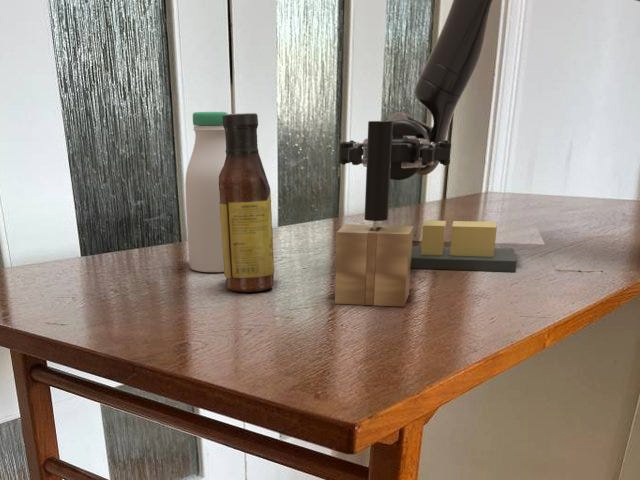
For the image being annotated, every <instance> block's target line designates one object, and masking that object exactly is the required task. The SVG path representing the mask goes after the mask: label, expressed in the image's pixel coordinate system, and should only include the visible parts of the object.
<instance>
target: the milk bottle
mask: <svg viewBox="0 0 640 480" xmlns="http://www.w3.org/2000/svg"><path fill="white" fill-rule="evenodd" d="M225 114H228V112H226V111H196V112H193V113H192V125H193V131H194V133H195V134H194V135H195V136H194V137H195V138H194V145H193V149H192V153H191V156H190V159H189V161H188V165H187V166H186V172H185V184H184V187H185V188H184V189H185V190H184V191H185V211H186V212H185V215H186V231H187V249H188V263H189V267H190V269H191V270H193V271H196V272H202V273H224V262H223V248H222V233H221V219H220V206H219V202H220V191H219V175H220V172H221V170H222V168H223V166H224V163H225V160H226V152H225V151H226V136H225V129H224V127H223V115H225Z"/></svg>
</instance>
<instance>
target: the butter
mask: <svg viewBox="0 0 640 480" xmlns="http://www.w3.org/2000/svg"><path fill="white" fill-rule="evenodd" d="M446 229H447V220H425V221H424V223H423V224H422V231H421V233H422V234H421V245H412V254H411V269H419V270H442V271H443V270H444V271H446V270H447V271H475V272H500V273H501V272H503V273H504V272H506V273H515V272H516V271H517V257H516V253H515V249H514V248H499V247H496V240H497V239H496V238H497V229H498V225H497V221H471V220H470V221H468V220H467V221H465V220H453V221H452V224H451V235H450V245H449V246H445V243H446V241H445V240H446Z"/></svg>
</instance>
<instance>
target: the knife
mask: <svg viewBox="0 0 640 480" xmlns="http://www.w3.org/2000/svg"><path fill="white" fill-rule="evenodd" d="M392 128H393V121H387V120H368V121H367V138H368V142H367V167H365V168H366V171H365V196H364V197H365V198H364V220H365V221H369V222H372V223H373V224H372V225H373V231H378V225H379V222H381V221H382V222H383V221H388V219H389V204H390V202H389V201H390V184H391V179H390V166H391V147H392Z"/></svg>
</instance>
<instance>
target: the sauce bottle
mask: <svg viewBox="0 0 640 480" xmlns="http://www.w3.org/2000/svg"><path fill="white" fill-rule="evenodd" d="M258 119H259V117H258V114H257V112H243V113H241V112H240V113H227V114H225V115H223V127H224V129H225V136H226V151H225V152H226V160H225V163H224V166H223V168H222V170H221V172H220V175H219V191H220V202H219V206H220V219H221V233H222V248H223V262H224V272H223V273H224V278H225V286H226V289H228V290H231V291H233V292H235V293H237V292H239V293H257V292H262V291H267V290H270V289H271V288H273V286H274V284H275V283H274V281H275V280H274V277H275V275H274V274H275V260H274V257H275V256H274V231H273V215H272V214H273V212H272V195H271V194H272V193H271V192H272V191H271V187H270V184H269V180H268V177H267V175H266V171H265V168H264V165H263V162H262V159H261V156H260V152H259V148H258V145H259V144H258V126H259V120H258Z"/></svg>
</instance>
